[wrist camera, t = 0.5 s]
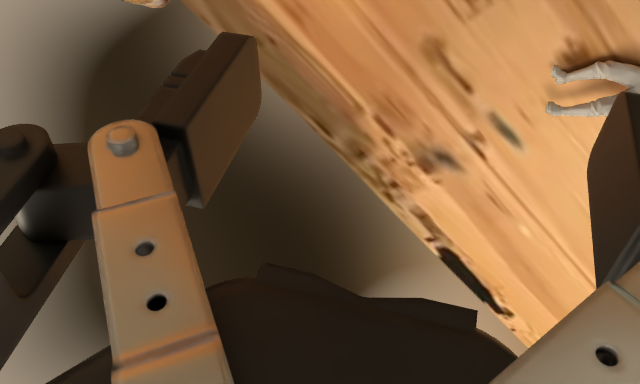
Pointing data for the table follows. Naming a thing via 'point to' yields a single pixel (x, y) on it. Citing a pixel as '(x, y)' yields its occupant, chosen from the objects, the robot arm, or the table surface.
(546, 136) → the table surface
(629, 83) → the soldier figure
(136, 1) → the decorative jar
